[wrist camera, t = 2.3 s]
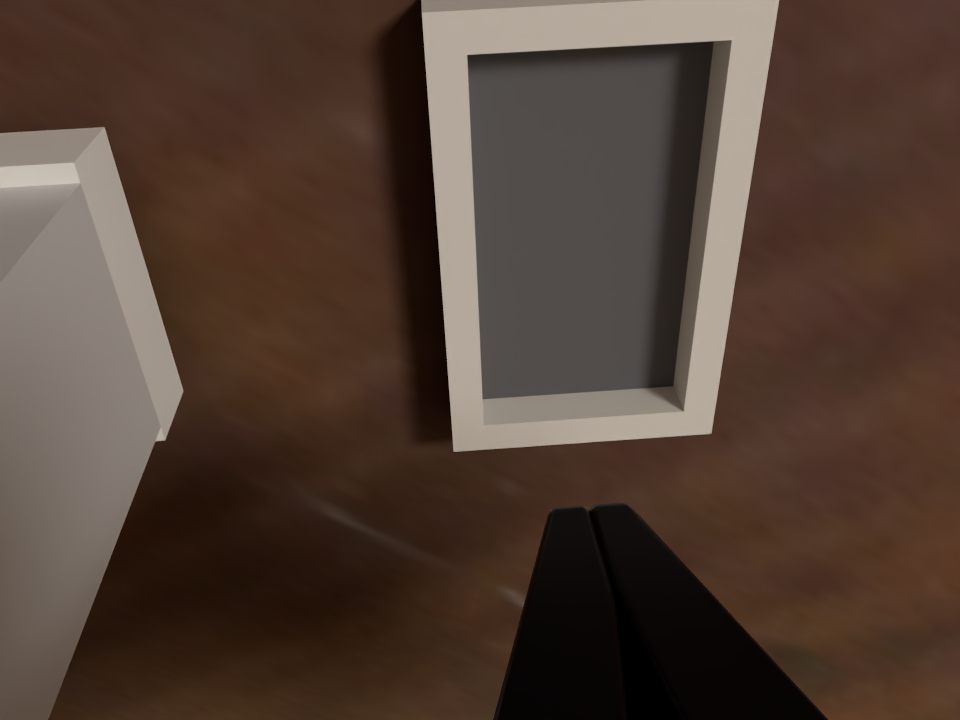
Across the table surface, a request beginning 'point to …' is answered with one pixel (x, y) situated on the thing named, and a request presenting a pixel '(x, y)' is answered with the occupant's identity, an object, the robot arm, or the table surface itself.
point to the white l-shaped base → (68, 396)
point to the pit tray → (590, 209)
